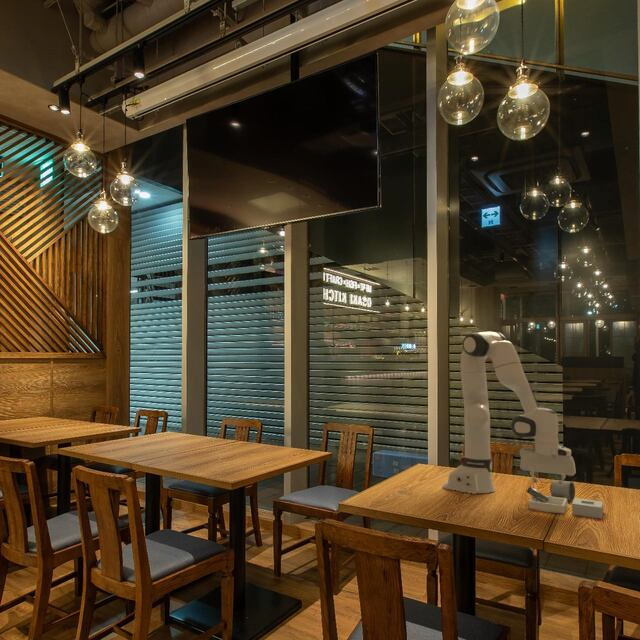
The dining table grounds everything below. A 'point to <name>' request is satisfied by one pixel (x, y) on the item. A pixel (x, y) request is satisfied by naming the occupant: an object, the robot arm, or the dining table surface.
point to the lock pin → (537, 495)
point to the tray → (549, 505)
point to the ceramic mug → (563, 490)
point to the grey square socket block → (587, 508)
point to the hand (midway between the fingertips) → (547, 484)
